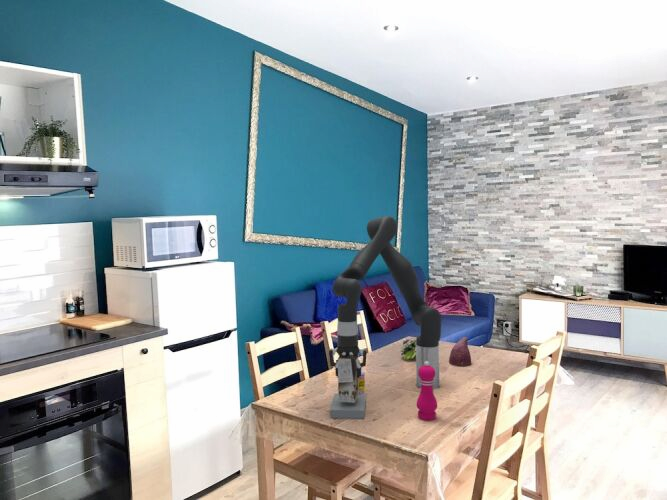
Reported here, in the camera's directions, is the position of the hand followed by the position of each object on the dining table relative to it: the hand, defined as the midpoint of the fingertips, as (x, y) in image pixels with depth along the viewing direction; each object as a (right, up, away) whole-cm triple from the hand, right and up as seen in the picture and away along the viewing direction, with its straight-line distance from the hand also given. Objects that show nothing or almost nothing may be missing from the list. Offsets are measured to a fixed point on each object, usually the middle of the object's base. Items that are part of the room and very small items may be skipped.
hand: (348, 377), depth 186 cm
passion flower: (+33, -7, +65) cm, 74 cm away
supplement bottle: (+4, -11, +16) cm, 20 cm away
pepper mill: (+28, -12, -7) cm, 31 cm away
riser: (0, -12, +1) cm, 12 cm away
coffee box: (0, -8, +1) cm, 8 cm away
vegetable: (+55, -8, +56) cm, 78 cm away
